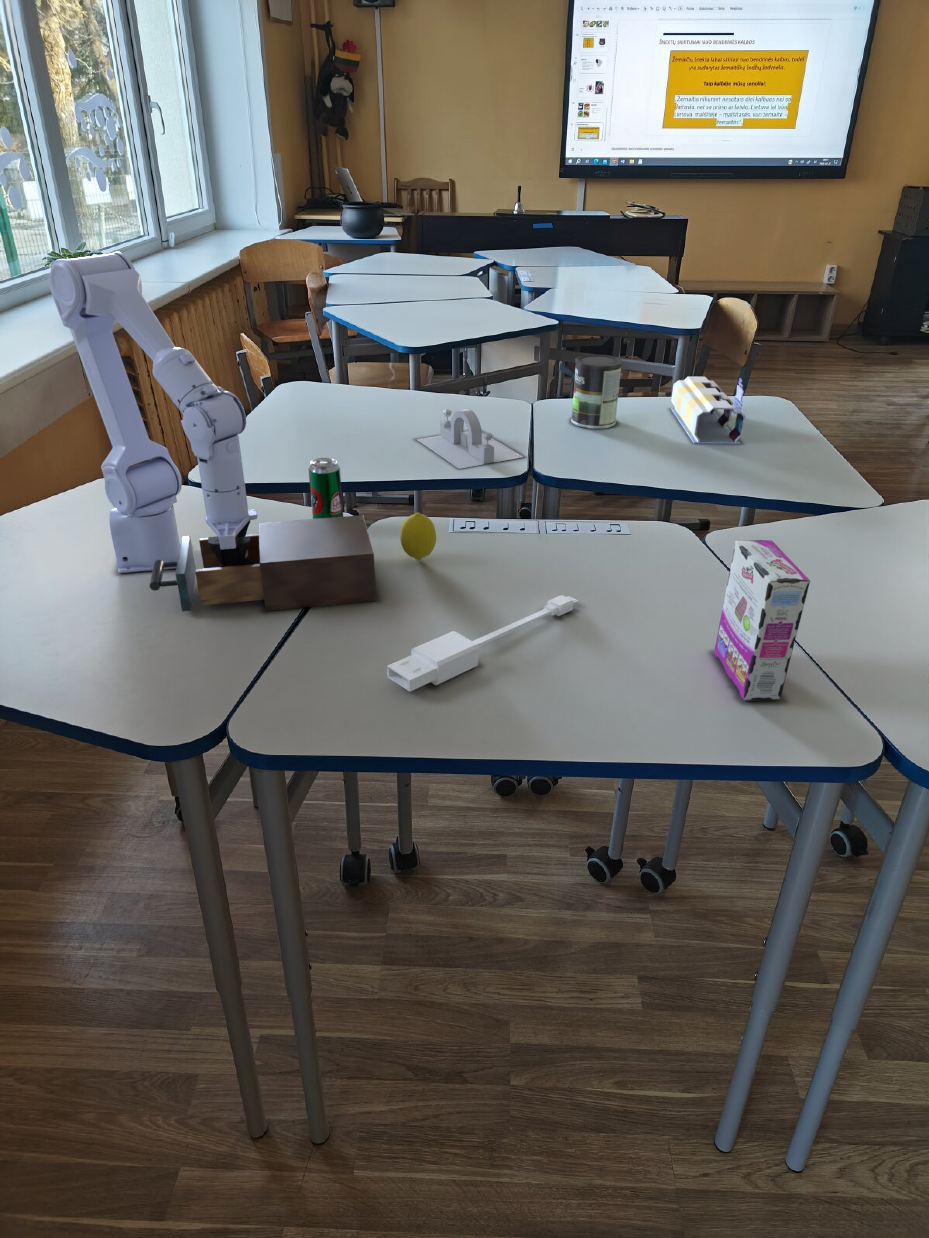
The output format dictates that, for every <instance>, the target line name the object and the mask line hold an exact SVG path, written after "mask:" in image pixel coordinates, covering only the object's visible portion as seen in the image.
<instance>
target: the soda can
mask: <svg viewBox="0 0 929 1238" xmlns="http://www.w3.org/2000/svg"><path fill="white" fill-rule="evenodd" d="M308 478H309V490H310V502H311V516H312V519H319V518H332V517H344V505H343V493H342V479H341V467H340V465H339V464H338V460H336V459H335V458H331V457H318V458H315V459H312V460H311V461H310V465H309V467H308Z"/></svg>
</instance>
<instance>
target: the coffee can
mask: <svg viewBox="0 0 929 1238" xmlns="http://www.w3.org/2000/svg"><path fill="white" fill-rule="evenodd" d="M622 366H623V360H622V359H621V358H619V357H617V356H613V355H607V354H598V353H597V354H596V353H595V354H583V355H580V356H578V357H575V369H574V382H573V383H574V384H573V386H574V387H573V397H572V410H571V419H570V421H571V423H572V424H573V425H574V426H577V427H580V428H585V429H590V430H591V429H593V430H602V429H609V428H612V427H614V426H615V425H616V424H617V422H616V420H617V411H618V401H619V391H620V381H621V373H622Z"/></svg>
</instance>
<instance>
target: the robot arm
mask: <svg viewBox="0 0 929 1238" xmlns="http://www.w3.org/2000/svg"><path fill="white" fill-rule="evenodd" d="M47 285H48V287H49V291H50V293H51V295H52V299H53V301H54V304H55V307H56V310H57V312H58V315H59V317H60V320H61V322H62V325H63V326H64V327H65V328H68V329H69V331H70V333H71V336H72V339H73V341H74V345H75V348H76V350H77V353H78V355H79V359H80V361H81V363H82V367H83V369H84V372H85V374H86V377H87V380H88V384H89V386H90V389H91V391H92V394H93V396H94V400H95V403H96V405H97V409H98V411H99V413H100V416H101V419H102V421H103V425H104V427H105V429H106V433H107V435H108V438H109V441H110V443H111V444H110V445H111V447H112V449H111V450H110V451H109V453H108V455H107V457H105V459H104V460H103V462H102V463H101V466H100V469H101V472H102V475H103V480H104V490H105V495H106V497H107V499H108V501H109V503H110V504H111V505H112V507H113V508H112V509H110V511H109V519H108V520H109V521H108V522H109V531H110V536H111V540H112V545H113V549H114V554H115V559H116V564H117V572H118V573H119V574H124V573H136V572H148V571H153V567H154V563H155V561H156V560H162V561H163V562H176V561H178V557H179V551H180V545H181V540H180V534H179V529H178V524H177V519H176V513H175V508H174V504H176V503H178V499H177V496H178V495H179V494H180V493H181V491H182V486H183V485H182V484H183V483H182V482H183V481H182V476H181V473H180V470H179V468H178V467H177V465H176V464H175V463H174V461H173V459H172V457H171V456H170V453H169V450H168V448H167V447H165V446H163V445H161V444H160V443H158V442H155V441H153V440H151V439H150V438H149V434H148V431H147V429H146V426H145V423H144V420H143V417H142V415H141V412H140V408H139V405H138V403H137V400H136V397H135V394H134V391H133V387H132V385H131V383H130V380H129V377H128V373H127V371H126V368H125V365H124V362H123V359H122V357H121V353H120V351H119V348H118V345H117V342H116V339H115V335H114V334H113V328H114V326H115V323H116V322H118V323H119V325H120V326H121V327H122V328H123V329H124V330H125V331H126V332H127V334H129V336H130V337H131V338H132V339H133V341H134V342H135V343H136V344H137V345H138V346H139V347H140V348H141V349H142V350H143V351H144V353H145V354H146V355H147V356H148V358H150V359H151V361H152V362H153V364H152V376H153V377H154V379H155V380H156V382H157V383H158V384H159V385H160V387H161V388H162V389H163V390H164V392H165V393H166V394H167V396H168V397H169V398H170V400H171V401H172V402H173V404H174V405H175V406H176V408H177V409H178V410H179V411H180V413H181V414H182V420H180V423H181V426H182V429H183V432H184V434H185V436H186V437H187V439H188V440H189V443H190V446H191V452H193V456H194V457H196V459H197V465H198V472H199V477H200V478H199V479H200V485H201V490H202V497H203V503H204V509H205V515H204V519H205V524H206V525H207V526H208V527H209V528H210V529H211V531H212V532H213V533H214V534H215V535H216V536H208V537H207V538H208V545H209V548H210V549H211V550H212V552H213V553H214V554H215V555H216V557H217V558H218V560H219V562H220V564H221V567H230V566H241V565H244V564H245V556H246V552H247V549H248V547H249V544H250V536H247V537H246V535H247V532H248V529H249V526H250V524H251V521H254V520H255V521H256V520H258V510H257V509H249V505H248V498H247V497H248V496H247V491H246V489H247V488H246V482H245V474H244V466H243V459H242V458H243V457H242V451H241V443H240V435H241V434H242V433H244V431H245V430H246V426H247V415H246V412H245V408H244V406H243V404H242V402H241V401H240V399H239V398H238V396H237V395H236V394H234V393H233V392H231V391H228V390H225V389H224V388H223V387H222V386H220V385H216V384H215V382H213V380H212V379H211V377H210V376H209V375H208V374H207V372H206V371H205V370H204V368H203V367H202V366H201V364H200V363H199V362H198V360H197V359H196V358H195V356H194V355H193V354H192V352H191V351H190V350H188V349H187V348H182V347H178V346H176V345H175V344H174V342H173V341H172V340H171V338H170V336H169V335H168V333H167V331H166V330H165V328H164V326H163V325H162V324H161V322H160V321H159V319H158V317H157V316H156V314H155V313H154V311H153V310H152V308H151V307H150V304H149V303H148V301H147V300H146V299H145V297H144V296H143V285H142V278H141V275H140V273H139V272H138V271H137V270H136V267H135V266H134V264H133V263H132V261H131V260H130V259H129V258H128V256H126V255H125V254H124V253H123V252H120V251H115V252H110V253H107V254H99V255H93V256H84V257H83V256H82V257H77V258H67V259H65V258H58V259H56V260H55V261H53V263H52V264H51V268H50V271H49V275H48V281H47ZM170 569H177V567H167V568H164V570H170Z"/></svg>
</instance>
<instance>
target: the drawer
mask: <svg viewBox="0 0 929 1238" xmlns="http://www.w3.org/2000/svg"><path fill="white" fill-rule="evenodd" d="M247 536H250V544H249V547H248V549H247V550H248V560H249V565H241V566H230V567H220V562H219V560H218V558H217V557H216V555H215V554H214V553H213V552H212V550H211V549H210V548H209V545H208V537H200V538H198V542H199V548H200V553H201V555H200V556H201V560H202V565H203V566H202V567H203V568H197V567H196V562H195V561H196V560H195V555H194V550H193V544H192V538H191V535H182V536H181V539H180V544H181V545H180V551H179V557H178V561H176V562H163V561H162V560H156V561H155V563H154V567H153V570H152V572H151V577H150V582H149V589H150V590H152V591H154V592H156V591H159V590H160V589H161V588H165V587H166V588H167V587H175V586H177V590H178V595H179V601H180V606H181V611H182V612H191V611H192V607H193V601H194V599H193V598H194V591H195V582H196V585H197V590H198V595H199V596H198V597H199V602H200V603H199V604H200V606H209V605H219V604H220V605H221V604H231V603H232V604H233V603H241V602H243V603H244V602H253V601H254V602H255V601H263V600H264V594H263V586H262V578H261V570H260V554H259V533H250V534H246V537H247ZM167 567H177V568H175V580H174V579H173V580H163V576H164V575H163V574H164V570H165V569H164V568H167Z"/></svg>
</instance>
